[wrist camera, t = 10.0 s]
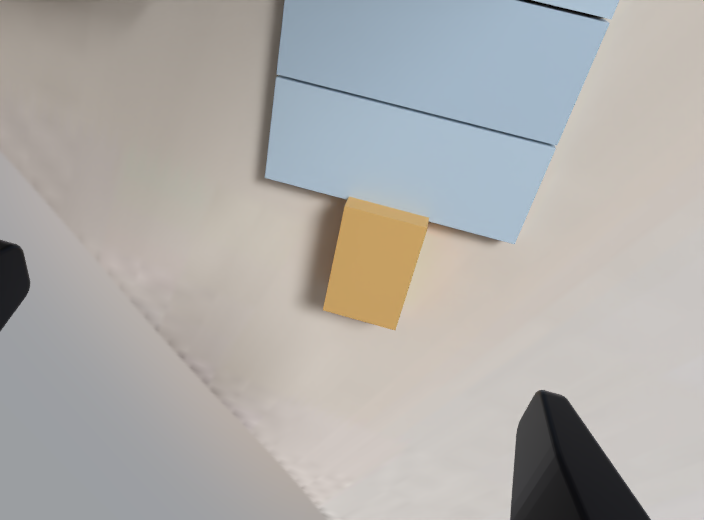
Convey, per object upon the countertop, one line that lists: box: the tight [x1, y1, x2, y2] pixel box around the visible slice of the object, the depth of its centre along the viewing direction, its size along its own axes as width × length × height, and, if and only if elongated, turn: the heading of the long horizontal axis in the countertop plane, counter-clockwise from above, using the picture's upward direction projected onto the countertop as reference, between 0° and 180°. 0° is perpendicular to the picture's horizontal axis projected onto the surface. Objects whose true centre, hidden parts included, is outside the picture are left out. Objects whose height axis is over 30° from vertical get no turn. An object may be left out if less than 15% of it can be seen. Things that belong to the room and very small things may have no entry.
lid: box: [265, 0, 619, 330], centre depth 18 cm, size 9×16×2 cm, turn 169°
